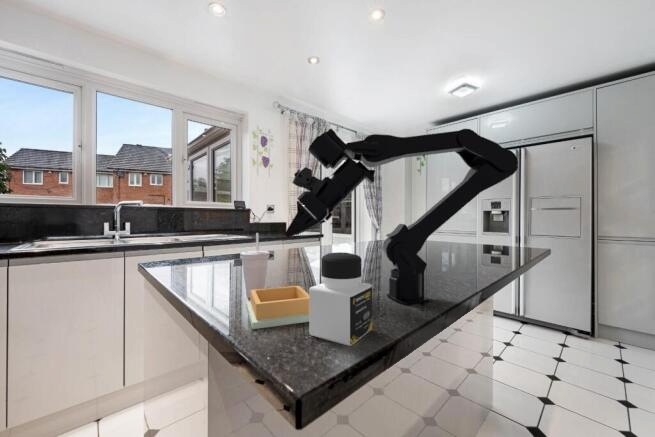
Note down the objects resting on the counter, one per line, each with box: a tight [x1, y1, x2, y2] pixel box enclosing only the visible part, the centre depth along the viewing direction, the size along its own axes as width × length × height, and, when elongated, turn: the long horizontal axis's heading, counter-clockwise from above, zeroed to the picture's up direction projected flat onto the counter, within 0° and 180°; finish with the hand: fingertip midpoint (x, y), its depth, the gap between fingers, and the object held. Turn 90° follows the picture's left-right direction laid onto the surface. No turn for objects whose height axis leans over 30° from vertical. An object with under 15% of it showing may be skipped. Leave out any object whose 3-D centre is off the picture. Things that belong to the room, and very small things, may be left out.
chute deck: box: [245, 285, 309, 330], centre depth 53 cm, size 20×12×4 cm, turn 111°
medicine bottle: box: [308, 251, 373, 347], centre depth 43 cm, size 7×7×12 cm
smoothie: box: [239, 232, 270, 299], centre depth 63 cm, size 6×6×14 cm
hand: (290, 234), depth 62 cm, fingers open, 9 cm apart
